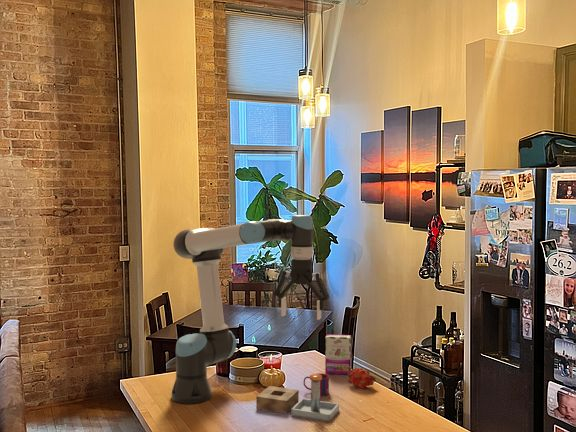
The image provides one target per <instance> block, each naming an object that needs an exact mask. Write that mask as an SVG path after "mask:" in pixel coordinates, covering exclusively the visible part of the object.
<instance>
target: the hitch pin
mask: <svg viewBox="0 0 576 432" xmlns="http://www.w3.org/2000/svg"><path fill="white" fill-rule="evenodd" d="M309 377H310V378H309V380H310V385H311V386H310V388H311V390H310V400H311V411H312V412H318V413H319V412H320V401H321V396H320V380H322V375H320V374H318V373H312V374H310V375H309Z"/></svg>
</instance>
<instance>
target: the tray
mask: <svg viewBox="0 0 576 432" xmlns="http://www.w3.org/2000/svg"><path fill="white" fill-rule="evenodd" d="M290 411H291V414H290V415H291V417H297V418H302V419H309V420H315V421H321V422H328V423H331V421H332V420H333V418H335V416H336V415H337V414H338V412H339V411H340V404H339V403H336V402H331V401H330V402H329V401H323V400H320V412H319V413H318V412H312V411H311V398H301V399H300V400H299V402H298V403H297V404H296V405H295V406H294V407H293V408H292V409H291V410H290Z"/></svg>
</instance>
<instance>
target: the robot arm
mask: <svg viewBox="0 0 576 432" xmlns="http://www.w3.org/2000/svg"><path fill="white" fill-rule="evenodd" d="M313 230H314V227H313V217H312V216H311V215H309V214H293V215H292V216H291V219H277V218H271V219H270V218H269V219H267V220H251V221H247V222H244V223H239V224H232V225H228V226H222V227H218V228H213V227H204V228H201V227H200V228H195V229H194V228H193V229H191V228H190V229H184V230H181V231H180V232H178V233H177V234H176V236H175V237H174V240H173V242H172V243H173V250H174V251H175V253H176V255H178V256H179V257H180V258H182V259H189V260H190V259H191V261H192V264H193V265H194V266H195V267H196V273H197V281H198V291H199V299H200V301H199V302H200V309H201V319H202V327H201V328H200V329H199V333H197V332H196V333H192V334H191V333H189V334H185V335H183V336H181V337H179V338H178V339H177V341H176V344H175V380H174V382H173V386H172V390H171V400H172V401H173V402H175V403H179V404H187V405H188V404H189V405H191V404H200V403H204V402H206V401H208V400H210V399H211V398H212V389H211V386H210V382H209V380H208V376H207V373H208V372H207V368H208V367H207V366H211V365H213V364H217V363H220V362H224V361H226V360H227V359H230V357H232V356H233V354H234V353H235V352H236V348H237V340H236V336H235V335H234V333H233V332H232V331H231V330H230V329H229V328H230V327H229V325H227V323H225V317H224V309H223V299H222V298H223V297H222V289H221V283H220V272H219V263H220V262H221V260H222V257H221V255H222V254H223V253H224V252H225V249H226V248H232V247H238V246H244V245H252V244H259V243H266V242H274V241H275V242H276V241H286V242H287V241H289V242H290V244H291V247H290V248H291V249H290V250H291V252H290V254H291V255H290V257H291V260H290V271H289V270H288V269H286V270H283V271H282V274H281V278H280V280H279V282H278V285H277V286H276V289H275V291H274V292H273V295H274V296H276V297H278V306H279V307H280V308H281V309H280V316H281V317H285V316H286V315H287V297H286V296H285V295H286V294H287V293H288V292H289V291H290V289H292V287H293V286H294V285H295V284H296V285H302V286H305V285H306V286H308V287H309V289H310V290H311V291H312V293H313V294H314V295H315V297H316V298H317V299H318V300H317V301H316V320H317V321H319V320H321V319H322V311H323V310H324V309H325V301H326V300H328V299H330V295H329V293H328V291H327V288H326V286H325V284H324V282H323V280H322V274H321V272H315V273H313V259H312V258H313V233H314V232H313ZM289 276H290V277H291V280H290V281H289V283H288V284H287V285H286V286H285V287H284V285H285V283H286V281H287V279H288V277H289ZM313 278H314V280H315V281H316V283H317V286H316V285H315V284H314V281H313Z"/></svg>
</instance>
